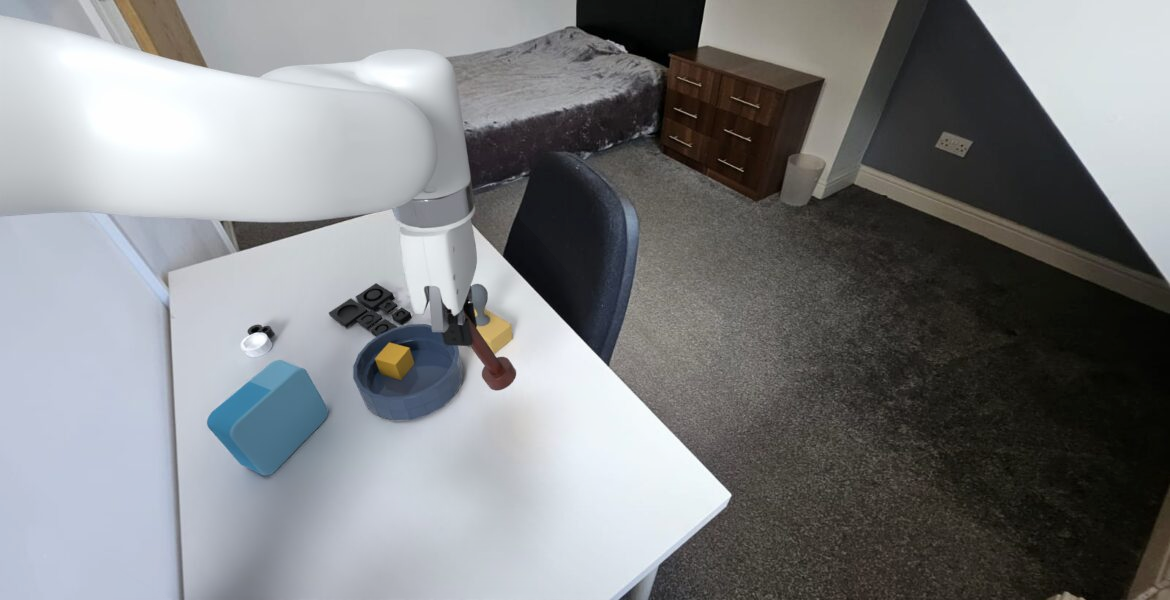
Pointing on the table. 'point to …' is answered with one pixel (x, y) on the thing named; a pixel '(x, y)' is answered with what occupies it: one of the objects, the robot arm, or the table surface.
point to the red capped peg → (491, 361)
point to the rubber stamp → (489, 321)
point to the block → (394, 361)
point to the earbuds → (340, 318)
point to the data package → (269, 417)
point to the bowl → (409, 374)
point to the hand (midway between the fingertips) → (461, 335)
